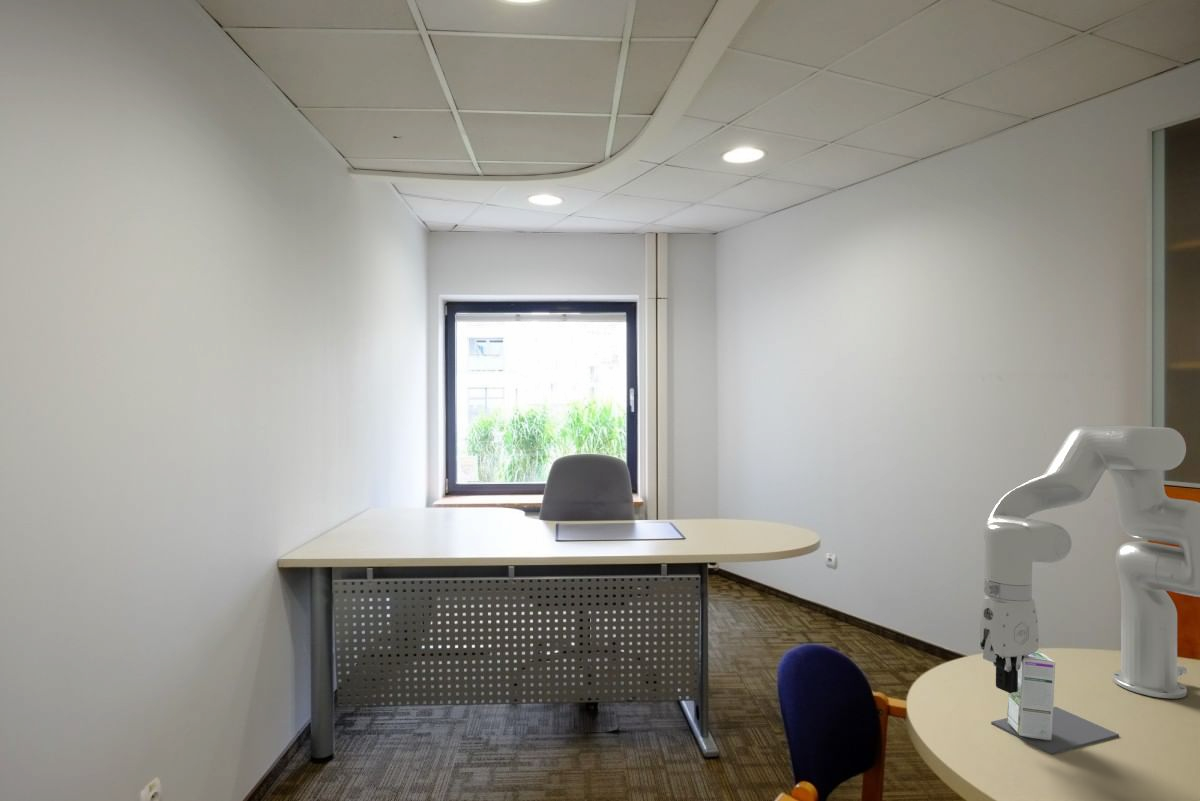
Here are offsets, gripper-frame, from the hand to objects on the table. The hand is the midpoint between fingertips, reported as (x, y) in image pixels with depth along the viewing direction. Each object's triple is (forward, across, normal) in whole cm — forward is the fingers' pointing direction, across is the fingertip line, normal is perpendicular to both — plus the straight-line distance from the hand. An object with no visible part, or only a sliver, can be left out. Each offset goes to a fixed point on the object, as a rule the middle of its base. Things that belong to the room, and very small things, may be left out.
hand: (1006, 689), depth 124 cm
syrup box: (+9, +6, 0) cm, 11 cm away
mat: (+9, +13, 0) cm, 16 cm away
